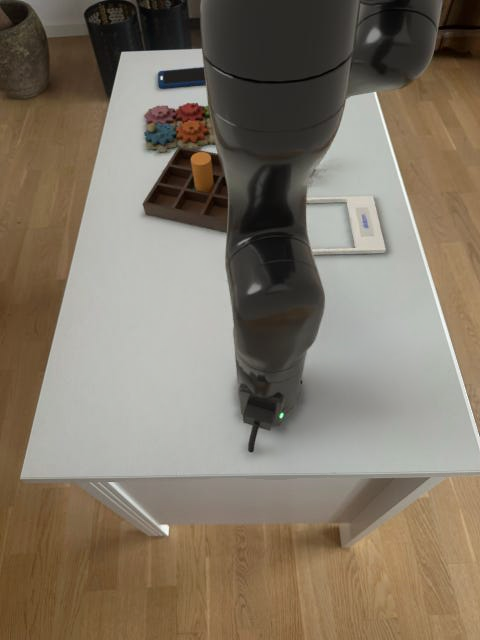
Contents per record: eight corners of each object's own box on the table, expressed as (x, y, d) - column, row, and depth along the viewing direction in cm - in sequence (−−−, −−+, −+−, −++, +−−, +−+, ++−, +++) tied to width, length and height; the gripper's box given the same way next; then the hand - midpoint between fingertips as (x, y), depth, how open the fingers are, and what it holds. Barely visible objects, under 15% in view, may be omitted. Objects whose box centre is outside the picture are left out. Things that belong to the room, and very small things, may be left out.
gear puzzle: (269, 102, 111) (269, 86, 108) (278, 141, 103) (279, 125, 99) (145, 113, 111) (142, 98, 107) (145, 154, 102) (141, 139, 98)
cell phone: (158, 73, 120) (158, 70, 119) (209, 69, 120) (209, 66, 120) (158, 88, 116) (158, 85, 116) (211, 84, 116) (210, 81, 116)
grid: (232, 233, 88) (231, 223, 85) (145, 214, 91) (142, 203, 89) (260, 172, 97) (260, 161, 95) (180, 157, 101) (178, 146, 98)
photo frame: (385, 249, 82) (289, 251, 83) (384, 253, 83) (289, 255, 84) (373, 195, 90) (285, 197, 91) (372, 199, 91) (284, 201, 92)
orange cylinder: (210, 198, 92) (206, 166, 86) (192, 194, 93) (187, 162, 86) (217, 185, 94) (213, 153, 88) (199, 182, 95) (195, 150, 88)
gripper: (265, 145, 53) (216, 173, 67) (351, 101, 57) (287, 137, 72) (237, 81, 51) (193, 125, 65) (329, 42, 55) (267, 91, 70)
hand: (242, 131), depth 69 cm, fingers open, 8 cm apart
